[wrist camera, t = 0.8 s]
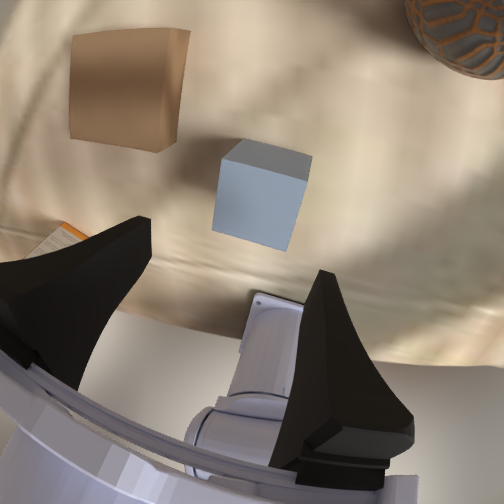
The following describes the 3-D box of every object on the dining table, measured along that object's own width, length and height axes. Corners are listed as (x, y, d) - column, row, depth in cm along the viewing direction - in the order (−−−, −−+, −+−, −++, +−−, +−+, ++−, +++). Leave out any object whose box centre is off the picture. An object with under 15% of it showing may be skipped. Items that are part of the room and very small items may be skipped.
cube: (295, 215, 21) (285, 252, 17) (233, 197, 21) (211, 229, 18) (312, 156, 18) (307, 181, 14) (244, 138, 18) (221, 158, 15)
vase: (486, 91, 12) (572, 122, 5) (388, 54, 13) (440, 45, 6) (493, 1, 8) (574, -12, 1) (394, -39, 9) (436, -100, 2)
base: (178, 140, 20) (157, 153, 17) (94, 127, 20) (70, 138, 18) (193, 31, 15) (170, 27, 12) (100, 34, 15) (73, 36, 13)
